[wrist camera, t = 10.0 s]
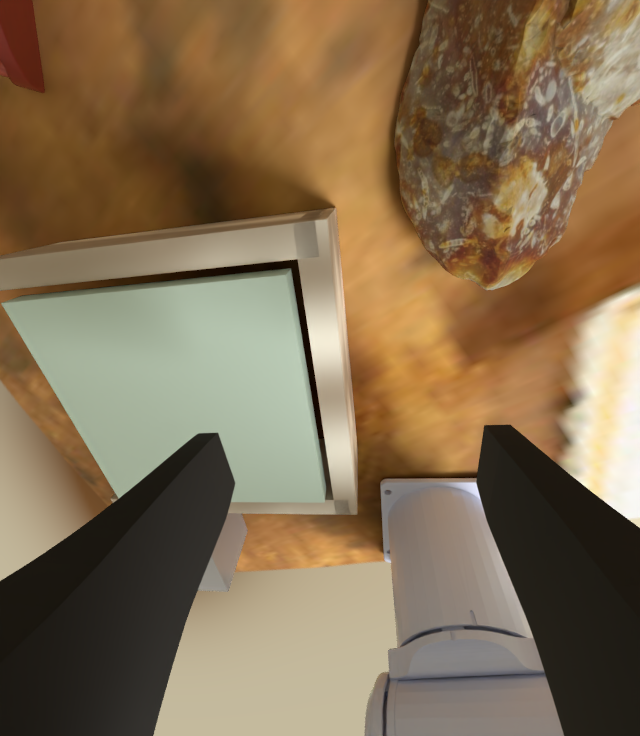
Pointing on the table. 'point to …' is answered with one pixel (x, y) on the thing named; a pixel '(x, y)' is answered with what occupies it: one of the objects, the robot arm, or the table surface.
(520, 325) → the table surface
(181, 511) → the robot arm
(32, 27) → the dentures model
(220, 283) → the trapdoor
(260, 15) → the table surface
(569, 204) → the decorative stone
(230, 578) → the granite block
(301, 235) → the frame
